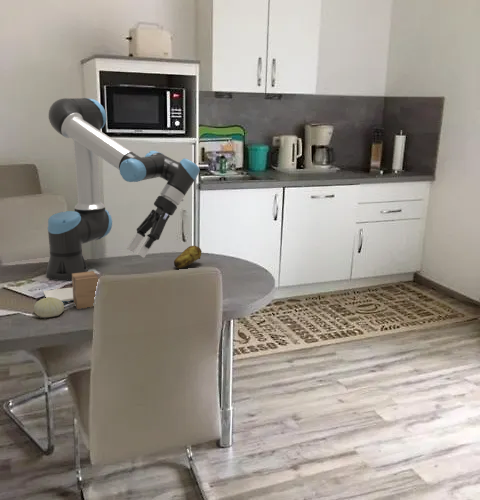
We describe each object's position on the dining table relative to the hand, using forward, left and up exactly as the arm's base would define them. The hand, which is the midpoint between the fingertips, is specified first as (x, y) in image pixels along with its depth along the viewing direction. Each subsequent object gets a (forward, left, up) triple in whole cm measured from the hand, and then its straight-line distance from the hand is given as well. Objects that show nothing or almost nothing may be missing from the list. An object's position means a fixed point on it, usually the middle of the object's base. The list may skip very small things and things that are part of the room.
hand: (135, 253), depth 191 cm
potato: (-14, +35, -16) cm, 41 cm away
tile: (-15, -19, -15) cm, 29 cm away
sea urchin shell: (-6, -29, -16) cm, 34 cm away
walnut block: (-5, -17, -15) cm, 23 cm away
